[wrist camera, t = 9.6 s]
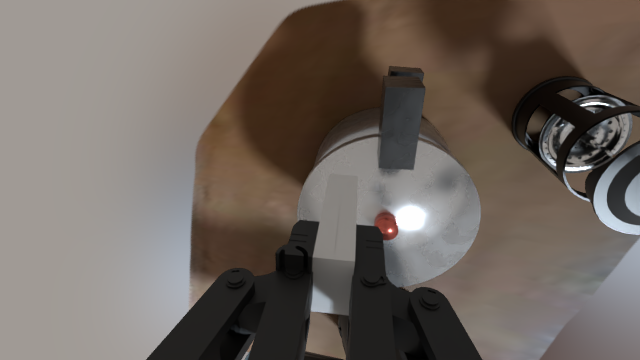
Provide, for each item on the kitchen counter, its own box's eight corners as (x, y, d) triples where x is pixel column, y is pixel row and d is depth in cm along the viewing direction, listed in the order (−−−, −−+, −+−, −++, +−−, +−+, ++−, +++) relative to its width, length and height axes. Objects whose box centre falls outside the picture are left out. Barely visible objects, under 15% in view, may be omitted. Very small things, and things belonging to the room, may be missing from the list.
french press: (491, 112, 41) (611, 226, 21) (569, 53, 37) (805, 124, 17) (546, 175, 44) (695, 327, 24) (622, 127, 40) (876, 260, 20)
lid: (458, 285, 41) (468, 318, 37) (301, 272, 43) (294, 302, 39) (512, 77, 30) (536, 91, 26) (294, 72, 32) (283, 84, 27)
